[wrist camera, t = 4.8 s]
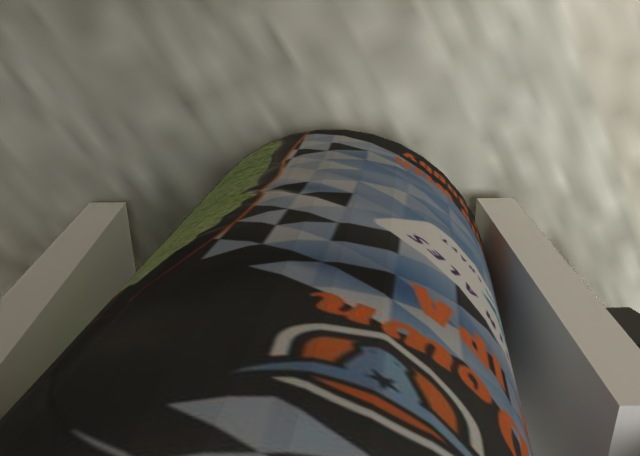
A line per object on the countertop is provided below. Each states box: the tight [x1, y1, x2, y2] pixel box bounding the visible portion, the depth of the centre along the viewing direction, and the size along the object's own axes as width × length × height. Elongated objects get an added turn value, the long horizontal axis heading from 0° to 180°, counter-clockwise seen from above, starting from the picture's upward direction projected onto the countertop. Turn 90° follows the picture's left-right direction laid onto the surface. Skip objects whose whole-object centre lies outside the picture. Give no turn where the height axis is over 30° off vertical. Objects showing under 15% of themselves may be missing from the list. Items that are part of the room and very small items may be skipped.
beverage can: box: [0, 130, 533, 456], centre depth 8 cm, size 6×7×12 cm
